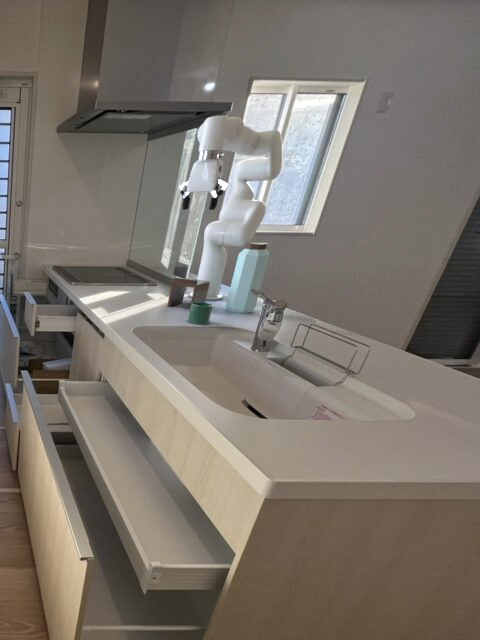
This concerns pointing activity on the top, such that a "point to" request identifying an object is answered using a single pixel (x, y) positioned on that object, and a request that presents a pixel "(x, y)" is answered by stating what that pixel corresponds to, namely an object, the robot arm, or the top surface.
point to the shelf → (180, 286)
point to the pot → (200, 313)
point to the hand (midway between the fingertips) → (198, 209)
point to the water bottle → (247, 277)
